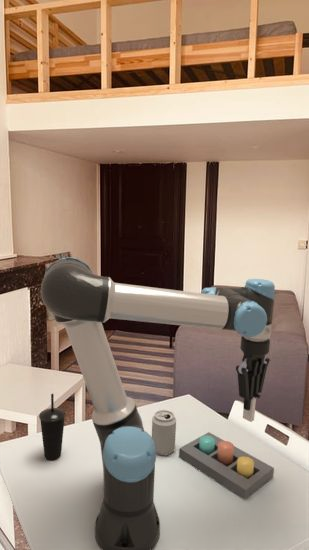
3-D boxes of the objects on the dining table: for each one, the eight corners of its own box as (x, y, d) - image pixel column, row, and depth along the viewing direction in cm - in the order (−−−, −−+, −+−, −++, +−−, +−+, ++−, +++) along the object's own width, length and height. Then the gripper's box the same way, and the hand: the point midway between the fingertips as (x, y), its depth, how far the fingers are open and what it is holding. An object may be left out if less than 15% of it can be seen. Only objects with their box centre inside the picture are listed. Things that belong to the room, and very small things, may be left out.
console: (244, 500, 106) (245, 489, 106) (178, 457, 123) (179, 448, 123) (273, 477, 116) (273, 467, 115) (208, 440, 133) (208, 432, 132)
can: (172, 458, 123) (174, 422, 121) (148, 454, 124) (150, 418, 122) (176, 444, 130) (178, 410, 128) (153, 441, 131) (155, 406, 129)
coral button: (226, 467, 116) (227, 452, 115) (213, 460, 119) (214, 444, 118) (235, 461, 119) (237, 445, 118) (223, 454, 122) (224, 439, 121)
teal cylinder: (207, 460, 121) (208, 445, 120) (195, 453, 124) (196, 439, 124) (216, 454, 124) (217, 440, 123) (205, 448, 128) (206, 433, 127)
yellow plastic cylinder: (246, 485, 111) (247, 468, 110) (232, 476, 114) (234, 460, 114) (255, 478, 114) (257, 462, 113) (242, 470, 118) (243, 454, 117)
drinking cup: (46, 467, 116) (46, 402, 113) (35, 454, 122) (34, 392, 119) (70, 457, 121) (70, 395, 118) (58, 445, 127) (57, 386, 124)
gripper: (253, 346, 100) (246, 433, 104) (281, 336, 109) (273, 417, 113) (229, 338, 106) (222, 421, 110) (257, 329, 114) (250, 406, 118)
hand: (248, 419), depth 111 cm, fingers closed
